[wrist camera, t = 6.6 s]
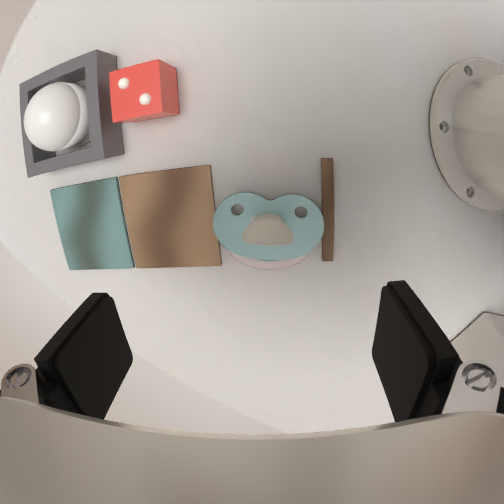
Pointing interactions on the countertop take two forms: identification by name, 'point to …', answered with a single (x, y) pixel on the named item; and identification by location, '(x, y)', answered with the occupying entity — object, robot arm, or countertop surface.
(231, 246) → the pacifier
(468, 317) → the countertop surface
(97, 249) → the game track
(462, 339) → the soap bottle
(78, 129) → the popper dome
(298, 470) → the robot arm
